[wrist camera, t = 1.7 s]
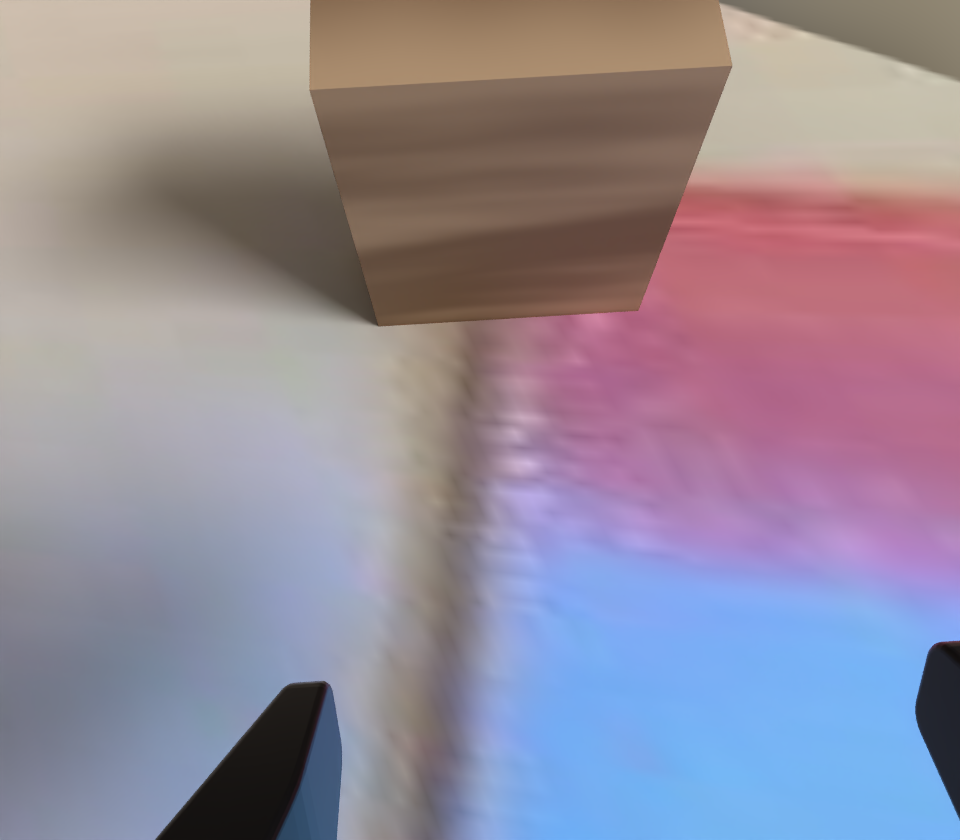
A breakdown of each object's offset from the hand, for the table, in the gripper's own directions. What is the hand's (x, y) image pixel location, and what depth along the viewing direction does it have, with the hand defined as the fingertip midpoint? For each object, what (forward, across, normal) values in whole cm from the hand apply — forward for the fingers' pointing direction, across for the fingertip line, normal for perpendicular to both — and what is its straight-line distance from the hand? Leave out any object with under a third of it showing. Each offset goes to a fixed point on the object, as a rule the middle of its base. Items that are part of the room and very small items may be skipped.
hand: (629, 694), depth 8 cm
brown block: (+18, 0, +1) cm, 19 cm away
